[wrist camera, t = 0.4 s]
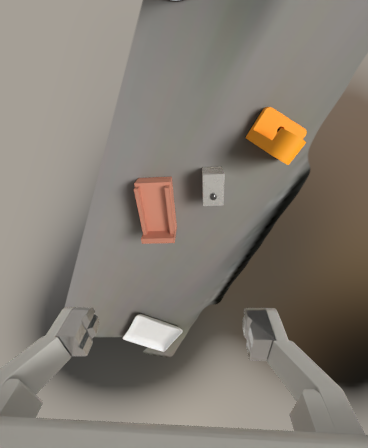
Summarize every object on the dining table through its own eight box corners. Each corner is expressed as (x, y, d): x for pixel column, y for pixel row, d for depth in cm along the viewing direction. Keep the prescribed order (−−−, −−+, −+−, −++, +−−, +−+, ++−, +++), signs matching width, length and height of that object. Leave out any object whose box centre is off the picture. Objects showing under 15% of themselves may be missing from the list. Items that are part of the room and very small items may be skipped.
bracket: (303, 129, 45) (334, 138, 35) (281, 158, 49) (303, 174, 39) (264, 104, 43) (285, 106, 33) (244, 137, 47) (258, 147, 37)
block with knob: (202, 167, 51) (202, 175, 46) (221, 166, 51) (224, 174, 45) (202, 196, 55) (203, 206, 50) (220, 195, 55) (223, 206, 49)
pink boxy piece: (138, 178, 53) (130, 189, 47) (171, 176, 53) (168, 187, 46) (147, 228, 62) (142, 243, 55) (176, 227, 61) (174, 242, 55)
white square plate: (123, 332, 94) (121, 340, 91) (138, 308, 84) (136, 315, 81) (165, 345, 98) (164, 352, 95) (184, 323, 88) (183, 331, 85)
